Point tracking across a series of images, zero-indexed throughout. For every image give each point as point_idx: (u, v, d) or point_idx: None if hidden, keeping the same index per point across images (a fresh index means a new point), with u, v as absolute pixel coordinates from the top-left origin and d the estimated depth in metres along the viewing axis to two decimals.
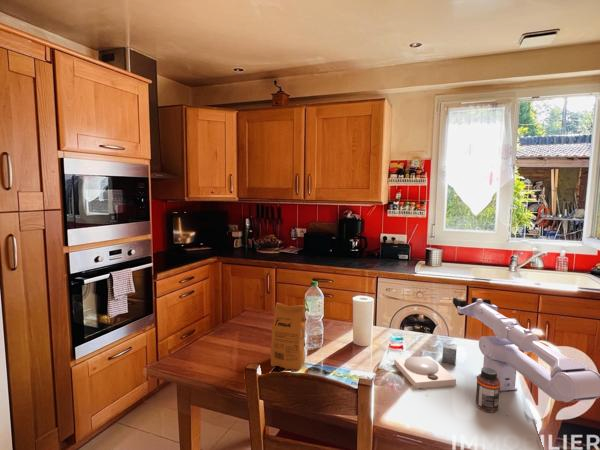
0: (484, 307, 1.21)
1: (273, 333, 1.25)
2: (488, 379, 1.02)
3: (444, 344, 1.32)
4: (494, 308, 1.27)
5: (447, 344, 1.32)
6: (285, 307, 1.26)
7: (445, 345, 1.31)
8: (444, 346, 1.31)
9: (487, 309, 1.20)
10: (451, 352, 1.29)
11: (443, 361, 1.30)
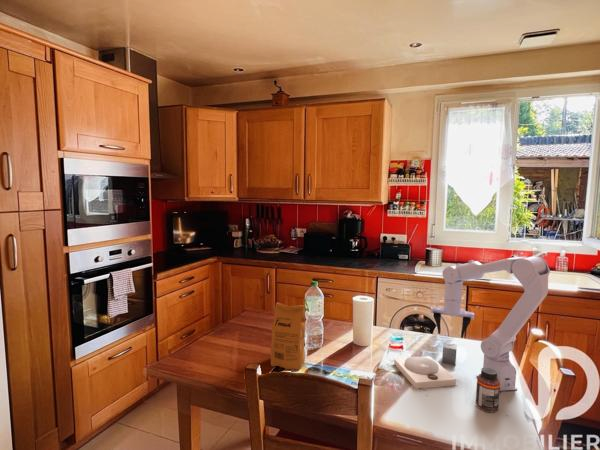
0: None
1: (273, 333, 1.25)
2: (488, 379, 1.02)
3: (444, 344, 1.32)
4: None
5: (447, 344, 1.32)
6: (285, 307, 1.26)
7: (445, 345, 1.31)
8: (444, 346, 1.31)
9: None
10: (451, 352, 1.29)
11: (443, 361, 1.30)
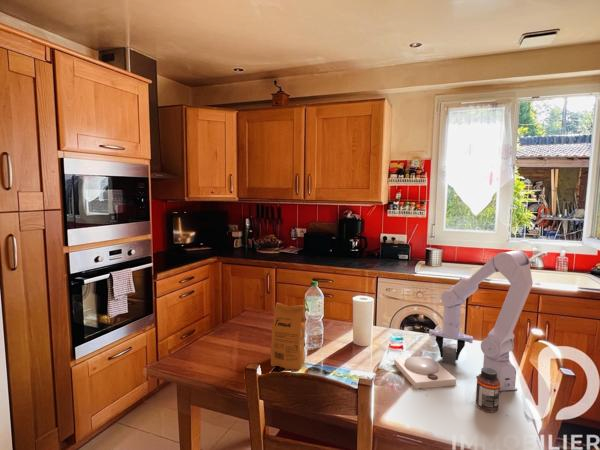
0: None
1: (273, 333, 1.25)
2: (488, 379, 1.02)
3: (444, 344, 1.32)
4: None
5: (447, 344, 1.32)
6: (285, 307, 1.26)
7: (445, 345, 1.31)
8: (444, 346, 1.31)
9: None
10: (451, 352, 1.29)
11: (443, 361, 1.30)
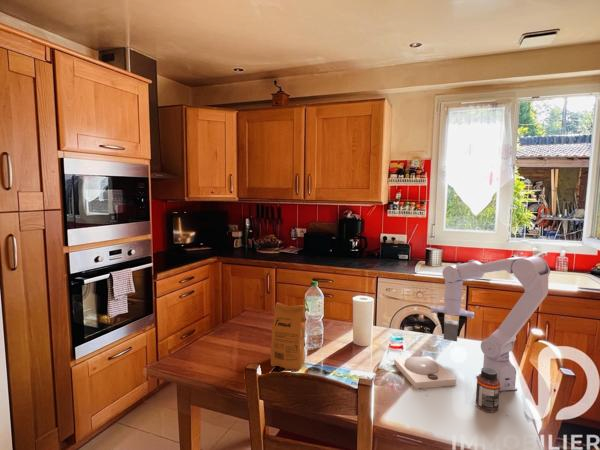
0: None
1: (273, 333, 1.25)
2: (488, 379, 1.02)
3: (445, 320, 1.31)
4: None
5: (448, 320, 1.31)
6: (285, 307, 1.26)
7: (446, 321, 1.30)
8: (445, 322, 1.30)
9: None
10: (453, 328, 1.28)
11: (444, 337, 1.29)
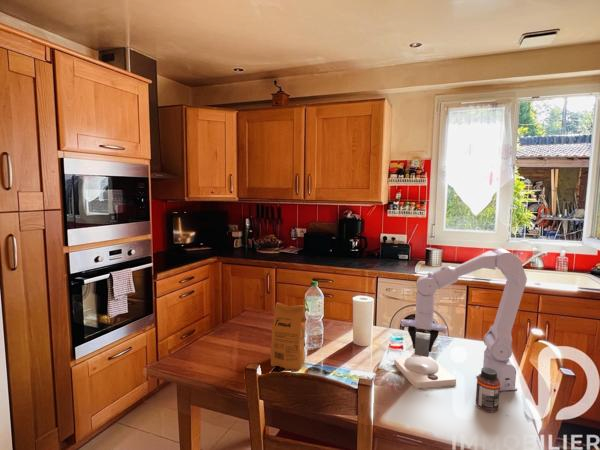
0: None
1: (273, 333, 1.25)
2: (488, 379, 1.02)
3: (417, 334, 1.24)
4: None
5: (420, 334, 1.24)
6: (285, 307, 1.26)
7: (418, 335, 1.23)
8: (417, 336, 1.22)
9: (416, 309, 1.21)
10: (424, 343, 1.20)
11: (415, 352, 1.22)
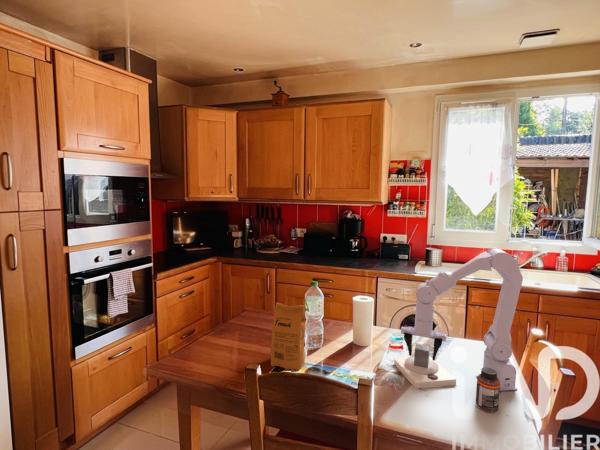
0: None
1: (273, 333, 1.25)
2: (488, 379, 1.02)
3: (416, 345, 1.24)
4: None
5: (420, 345, 1.24)
6: (285, 307, 1.26)
7: (417, 346, 1.23)
8: (416, 347, 1.23)
9: (416, 316, 1.21)
10: (423, 354, 1.21)
11: (415, 363, 1.22)
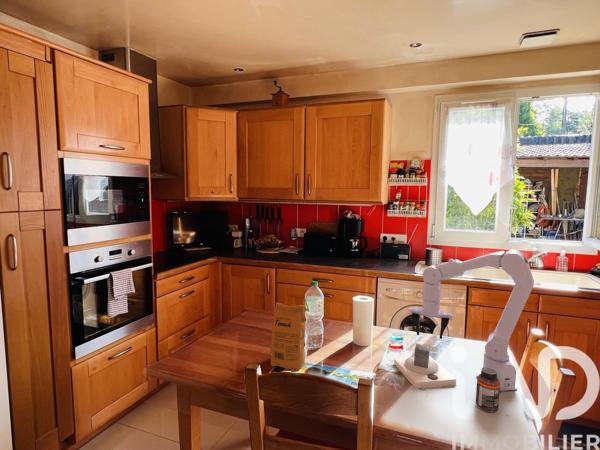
0: None
1: (273, 333, 1.25)
2: (488, 379, 1.02)
3: (416, 345, 1.24)
4: None
5: (420, 345, 1.24)
6: (285, 307, 1.26)
7: (417, 346, 1.23)
8: (416, 347, 1.23)
9: (423, 296, 1.28)
10: (423, 354, 1.21)
11: (415, 363, 1.22)
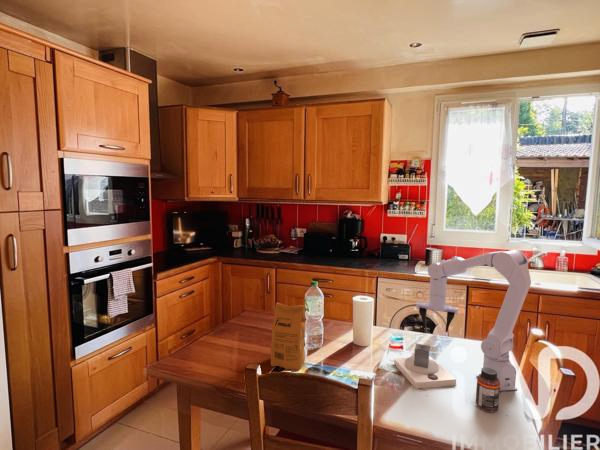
0: None
1: (273, 333, 1.25)
2: (488, 379, 1.02)
3: (416, 345, 1.24)
4: None
5: (420, 345, 1.24)
6: (285, 307, 1.26)
7: (417, 346, 1.23)
8: (416, 347, 1.23)
9: None
10: (423, 354, 1.21)
11: (415, 363, 1.22)
